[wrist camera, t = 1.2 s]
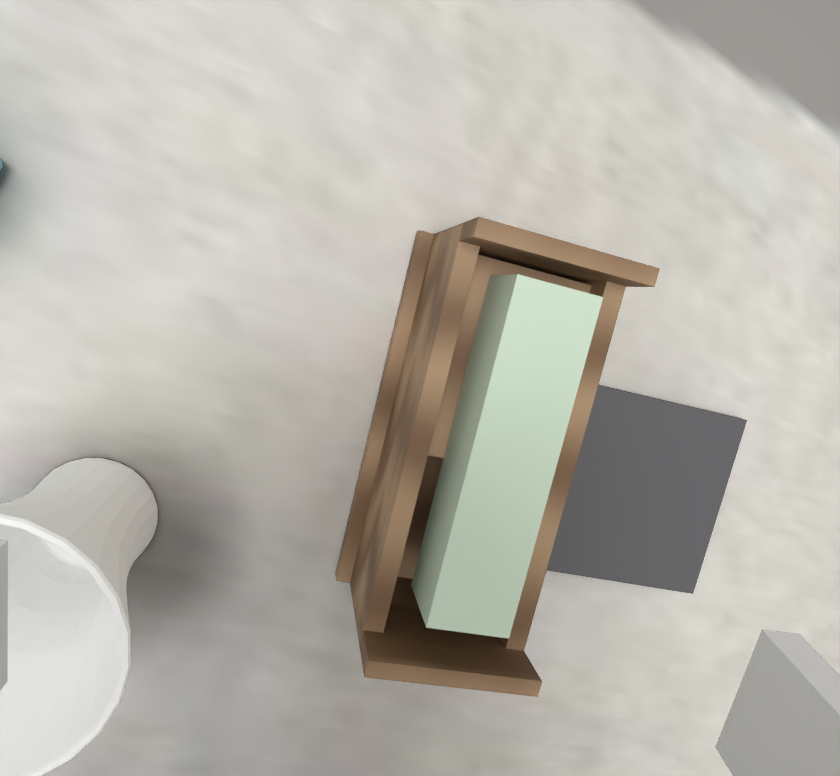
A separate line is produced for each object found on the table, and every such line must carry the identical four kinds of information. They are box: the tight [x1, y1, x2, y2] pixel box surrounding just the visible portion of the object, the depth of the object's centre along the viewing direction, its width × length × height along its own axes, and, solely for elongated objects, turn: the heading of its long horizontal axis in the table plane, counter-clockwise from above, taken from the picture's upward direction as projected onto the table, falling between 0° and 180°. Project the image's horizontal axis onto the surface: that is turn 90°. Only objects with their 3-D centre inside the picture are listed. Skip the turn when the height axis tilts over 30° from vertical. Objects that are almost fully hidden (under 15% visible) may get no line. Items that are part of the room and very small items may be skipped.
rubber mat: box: [547, 385, 747, 594], centre depth 40 cm, size 12×12×1 cm
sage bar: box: [411, 274, 603, 639], centre depth 29 cm, size 16×4×4 cm, turn 166°
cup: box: [0, 458, 158, 776], centre depth 28 cm, size 10×10×14 cm
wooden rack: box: [336, 217, 659, 697], centre depth 32 cm, size 20×10×10 cm, turn 166°
